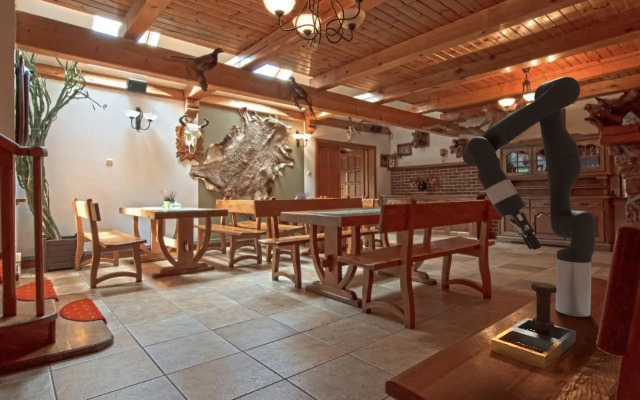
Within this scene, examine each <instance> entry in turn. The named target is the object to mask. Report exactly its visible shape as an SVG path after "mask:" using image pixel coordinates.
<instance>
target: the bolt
mask: <svg viewBox="0 0 640 400" xmlns="http://www.w3.org/2000/svg"><path fill="white" fill-rule="evenodd" d="M530 287H531V288H530V289H531V290H533V291H534V292H535V296H536V301H535V302H536V304H535V305H536V309H535V310H536V316H535V317H534V318H532V319H533V320H532V323H533V325H534V326H535V327H536V332H535V333H538V334H541V335H545V336H548V337H551V336H550V330H552V329H553V328H554V325H555V323H554V321H553V320H552V319H551V303H552V302H551V299H552V294H556V293H557V288H556V285H554V284H552V283H547V282H533V283H532V284H531V285H530Z"/></svg>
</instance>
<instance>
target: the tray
mask: <svg viewBox="0 0 640 400" xmlns="http://www.w3.org/2000/svg"><path fill="white" fill-rule="evenodd" d="M533 319H534V318H528V317H526V318H524V319H522V320H521V321H519V322H518V323H515V324H514V325H513V326H511V327H509V328H508V329H506V330H504V331H502V332H501V333H499V334H497V335H495V337H493V338H491V339H490V341H491V345H490V346H491V347H490V350H491V351H492V352H493V353H497V354H500V355H502V356H505V357H507V358H510V359H513V360H516V361H519V362H522V363H525V364H527V365H530V366H534V367H535V368H539V369H542V370H546V369H547V368H548V367H550V365H552V364H553V363H554V362H555V361H556V360H557V359H558V358H559V357H561V355H563V354H564V353H565V352H566V351H567V350H568V349H570V348H571V347H572V346H573V345H574V344H575V343H576V339H577V337H576V336H577V331H576V329H575V330H574V329H570V328H566V327H562V326H558V325H555V324H554V328H553V329H552V330H550V337H548V336H545V335H541V334H538V333H536V332H534V331H531V330H528V331H527V329H532V330H535V331H536V327H535V326H534V325H533V323H532V320H533ZM512 341H514V342H513V343H515V342H520V343H522V344H525V345H528V346H531V347H535V348H538V349H541V350H544V352H543V351H542V353H540V352H537V351H534V350H531V349H529V348H525V347H522V346H519V345H516V344H513V343H511V342H512ZM525 345H524V346H525ZM528 346H527V347H528ZM531 347H530V348H531Z"/></svg>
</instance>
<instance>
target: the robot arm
mask: <svg viewBox="0 0 640 400" xmlns="http://www.w3.org/2000/svg"><path fill="white" fill-rule="evenodd" d="M580 93H581V87H580V84H579V82H578V80H577V79H575V77H574V78H573V77H571V76H561V77H557V78H555V79H552V80H549V81H546V82H543V83H541V84H540V85H539V86H537V87H536V90H535V92H534V95H533V96H534V97H533V101H532V102H530V103H528V104H527V105H525V106H524V107H521V108H520V109H517V110H516V111H514V112H512V113H511V114H508V115H507V116H505V117H503V118H502V119H500V120H499V121H498V122H496V123H495V124H493V126H491V127H490V128H488V129H487V130H486V132H485V133H484V134H483V135H481V136H476V137H472V138H471V139H470V140H469V141H468V142H467V144H466V145H465V147H464V149H463V150H462V153H461V156H462V161H463V162H464V163H465V164H466V165H468V166H474V167H475V166H476V168H477V171H478V173H477V178H478V180H479V182H480V184H481V185H482V188H483V189H484V190H485V193H486V195H487V197H488V199H489V200H490V202H491V203H492V206H493V208H494V209H495V211H496V213H497V215H498V216H499V217H500V218H505V217H507V216H509V217H510V218H509V222H510V225H511V226H512V227H513V228H514V231H515V232H516V233H517V234H518V236H519V237H520V238H521V239H522V240H523V241H524V243H525V244H526V246H527V248H528V250H534V251H536V250H538V249H540V248H542V244H541V243H540V241H539V240H538V238H537V237H536V235H535V229H534V228H533V227H532V224H531V223H530V222H529V221H528V218H527V216H526V215H525V214H524V212H520V210H522V209H524V208H526V203H525V202H524V199H523V198H522V197H521V195H520V193H519V191H518V190H517V188H516V186H514V184H513V183H512V182H511V181H510V179H509V177H508V176H507V173H505V171H504V169H502V167H501V164H500V161H499V160H500V159H499V157H498V155H497V152H498V150H500V149H501V148H503V147H504V146H506V145H507V144H510V142H512V141H513V140H515V139H516V138H517V137H519V136H520V135H522V133H524V132H525V131H527V130H529V129H530V128H531V127H533V126H535V125H536V124H537V123H539V126H540V130H541V138H542V144H543V148H544V150H543V152H544V159H545V160H544V161H545V166H546V167H545V169H546V172H547V179H548V189H549V190H548V191H549V204H550V205H549V206H550V209H549V210H550V211H549V212H550V213H549V214H550V216H549V217H550V227H551V230H552V232H553V233H554V235H556V236H557V237H560V238H564V239H569V240H570V244H569V245H568V246H567V247H564V248H559V249H557V250H556V265H555V266H556V273H555V277H556V278H555V280H556V281H555V287H556V288H557V293H555V310H556V311H557V312H558V313H560V314H563V315H567V316H571V317H579V318H587V317H590V316H591V300H592V257H593V255H594V253H595V247H596V246H595V245H596V236H597V235H596V234H597V222H596V219H595V216H594V214H592V213H591V212H589V211H584V210H573V209H571V192H572V189H573V188H574V186H575V184H576V182H577V180H578V178H579V177H580V174H581V172H582V161H581V153H580V148H579V146H578V144H577V142H576V140H575V139H574V138H573V137H572V135H571V134H570V133H569V131H568V129H567V128H566V127H565V124H564V120H563V117H562V116H563V115H562V110H563V109H565V108H566V107H567V108H568V107H569V106H571V105H573V104H574V103H575V102H576V101H577V100H578V98H579V96H580Z"/></svg>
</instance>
